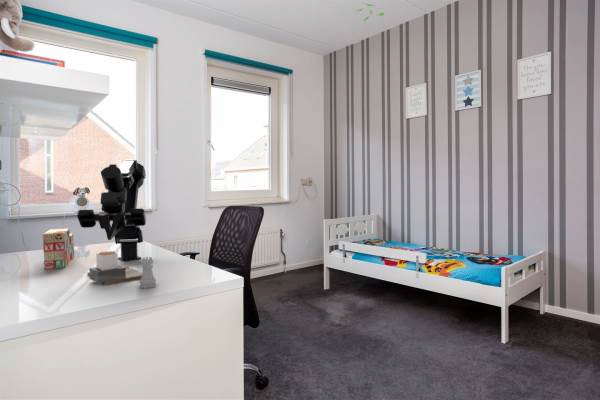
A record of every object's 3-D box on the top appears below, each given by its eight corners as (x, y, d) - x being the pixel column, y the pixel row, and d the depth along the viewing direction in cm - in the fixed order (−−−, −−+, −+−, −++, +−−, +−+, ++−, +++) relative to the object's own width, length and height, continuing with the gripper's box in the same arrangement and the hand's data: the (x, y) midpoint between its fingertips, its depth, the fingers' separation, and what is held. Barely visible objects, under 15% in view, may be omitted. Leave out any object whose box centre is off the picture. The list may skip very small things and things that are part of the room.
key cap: (96, 268, 111) (96, 252, 111) (112, 265, 114) (112, 250, 114) (101, 270, 108) (101, 254, 108) (118, 268, 111) (117, 252, 111)
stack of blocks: (55, 258, 147) (54, 226, 147) (74, 256, 150) (73, 225, 149) (44, 269, 128) (42, 233, 127) (65, 268, 130) (64, 232, 129)
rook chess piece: (145, 289, 103) (144, 260, 103) (135, 287, 106) (134, 258, 105) (159, 285, 107) (159, 257, 106) (150, 283, 109) (149, 255, 109)
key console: (81, 276, 117) (80, 263, 117) (127, 269, 127) (126, 257, 127) (98, 286, 106) (98, 272, 106) (147, 277, 116) (147, 264, 115)
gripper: (77, 183, 116) (67, 222, 106) (143, 182, 121) (139, 220, 111) (86, 208, 124) (76, 246, 114) (147, 206, 129) (143, 243, 119)
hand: (109, 239), depth 114 cm, fingers closed
